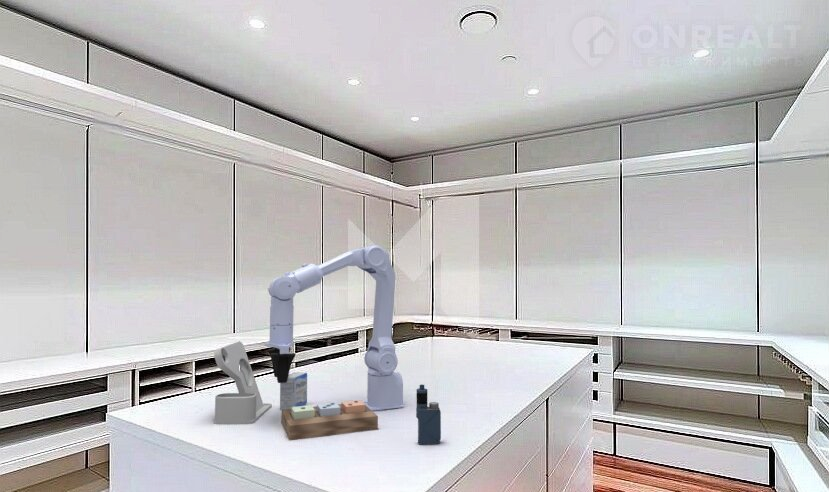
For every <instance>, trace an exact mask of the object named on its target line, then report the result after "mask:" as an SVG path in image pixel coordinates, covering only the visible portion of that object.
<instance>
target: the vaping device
mask: <svg viewBox="0 0 829 492" xmlns="http://www.w3.org/2000/svg"><path fill="white" fill-rule="evenodd" d="M428 404H429V405H428ZM415 411H416V412H415V413H416V414H415V418H417V444H418V445H423V446H424V445H425V446H427V445H439V444H440V443H441V439H442V438H441V437H442V429H441V428H442V419H441V418H442V416H441V415H442V414H441V413H442V412H441V409H440V406H439V402H436V401H431V402H429V403H428V389H427V388H425V384H419V387H418V388H416V408H415Z"/></svg>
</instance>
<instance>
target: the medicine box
mask: <svg viewBox="0 0 829 492" xmlns="http://www.w3.org/2000/svg"><path fill="white" fill-rule="evenodd" d="M279 386H280V387H279V409H280V410H285V409H291V407H298V406H306V405H307V403H308V372H302V371H301V372H300V371H299V372H298V371H296V372H292V373H289V376H288V380H287V382H286V383H279Z"/></svg>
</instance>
